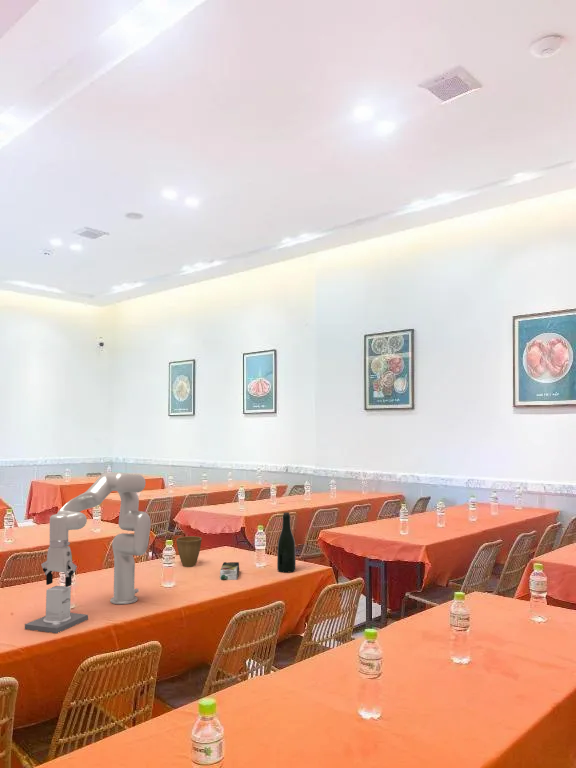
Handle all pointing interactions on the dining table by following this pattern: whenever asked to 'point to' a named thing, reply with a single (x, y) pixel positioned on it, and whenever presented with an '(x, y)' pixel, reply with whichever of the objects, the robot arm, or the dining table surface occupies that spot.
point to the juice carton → (229, 571)
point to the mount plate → (56, 623)
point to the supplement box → (58, 603)
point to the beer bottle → (286, 547)
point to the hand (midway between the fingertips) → (58, 584)
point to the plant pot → (189, 550)
